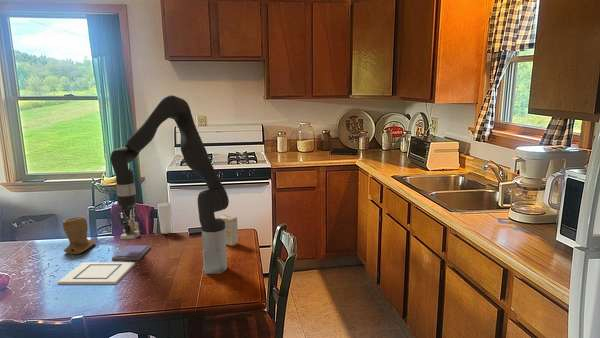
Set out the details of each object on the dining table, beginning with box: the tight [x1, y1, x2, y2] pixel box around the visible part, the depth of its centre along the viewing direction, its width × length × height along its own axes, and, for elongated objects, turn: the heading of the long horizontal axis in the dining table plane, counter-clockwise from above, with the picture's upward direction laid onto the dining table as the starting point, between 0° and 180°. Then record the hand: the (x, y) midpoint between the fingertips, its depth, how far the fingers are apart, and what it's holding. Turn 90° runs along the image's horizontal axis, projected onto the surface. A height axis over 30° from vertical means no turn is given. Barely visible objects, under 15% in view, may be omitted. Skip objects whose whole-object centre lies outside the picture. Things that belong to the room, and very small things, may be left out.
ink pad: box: [111, 245, 152, 261], centre depth 186 cm, size 14×12×2 cm
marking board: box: [57, 261, 136, 285], centre depth 166 cm, size 18×22×1 cm
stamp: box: [120, 219, 141, 241], centre depth 184 cm, size 6×6×8 cm
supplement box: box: [217, 214, 239, 247], centre depth 197 cm, size 8×5×13 cm, turn 58°
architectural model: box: [122, 221, 140, 232], centre depth 209 cm, size 3×7×7 cm, turn 76°
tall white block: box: [157, 201, 173, 235], centre depth 213 cm, size 7×7×15 cm
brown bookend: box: [62, 215, 96, 255], centre depth 191 cm, size 15×12×15 cm
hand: (129, 231), depth 184 cm, fingers closed on stamp, 3 cm apart
